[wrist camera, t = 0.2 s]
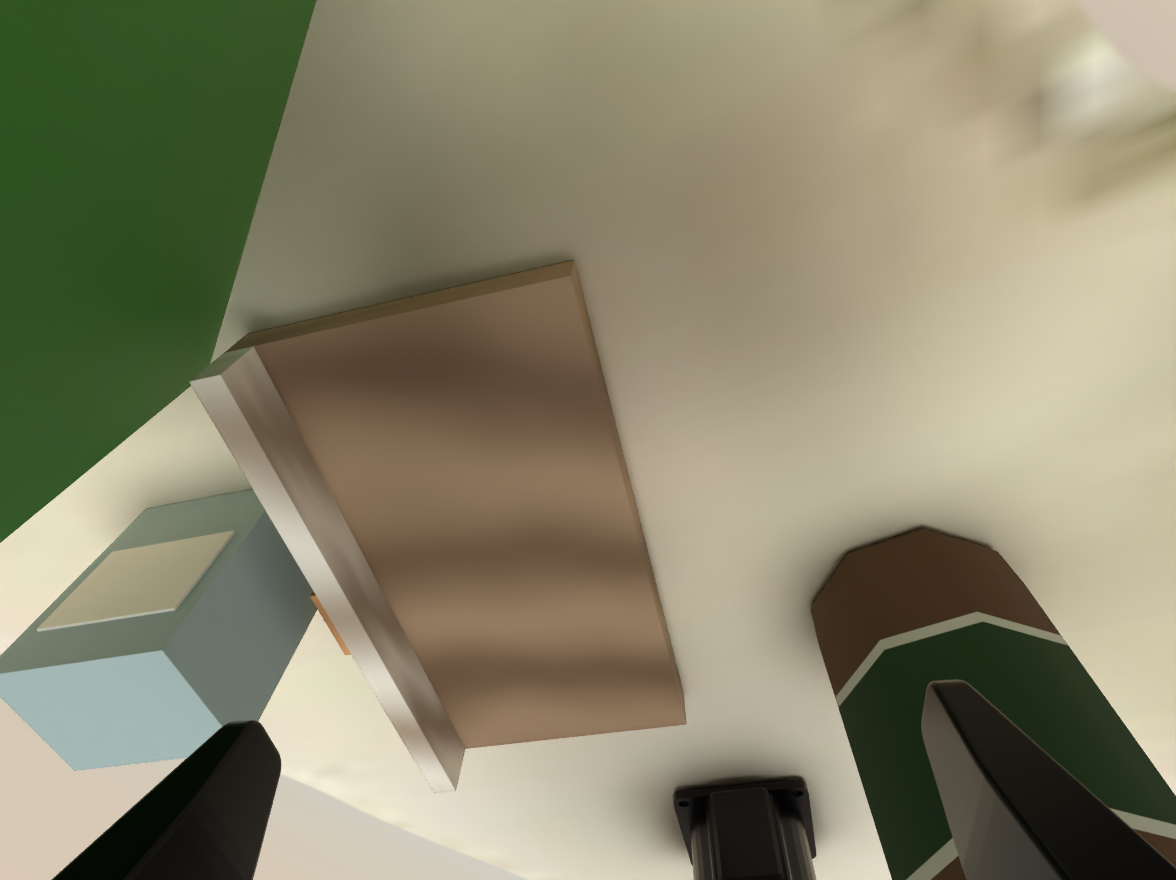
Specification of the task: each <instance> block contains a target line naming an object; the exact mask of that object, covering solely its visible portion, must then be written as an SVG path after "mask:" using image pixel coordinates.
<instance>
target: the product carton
mask: <svg viewBox="0 0 1176 880" xmlns="http://www.w3.org/2000/svg"><path fill="white" fill-rule="evenodd" d="M312 592H313V589H312V588H311V586H310V584H309V583H308V581H307V579H306V578H305V576H304V574H303V573H302V571H301V569H300V567H299V566H298V564H297V562H296V561H295V559H294V557H293V556H292V554H291V552H290V551H289V549H288V547H287V546H286V544H285V542H284V541H283V539H282V537H281V535H280V534H279V532H278V530H277V529H276V527H275V525H274V524H273V522H272V520H271V519H270V517H269V515H268V514H267V512H266V510H265V509H264V507H263V505H262V504H261V502H260V500H259V498H258V497H257V495H256V493H255V492H254V490H253V489H250V490H244V491H239V492H234V493H228V494H223V495H217V496H212V497H207V498H201V499H196V500H190V501H185V502H180V503H174V504H169V505H163V506H158V507H152V508H147V509H146V510H145V511H144V512H143V513H142V514H141V515H140V516H139V517H138V518H137V519H136V520H135V521H134V522H133V523H132V524H131V525H130V526H129V527H128V528H127V529H126V530H125V531H124V532H123V533H122V534H121V535H120V536H119V537H118V538H117V539H116V540H115V541H114V542H113V543H112V544H111V545H110V546H109V547H108V548H107V549H106V550H105V551H104V552H103V553H102V554H101V555H100V556H99V557H98V558H97V559H96V560H95V561H94V562H93V563H92V564H91V565H90V566H89V567H88V568H87V569H86V570H85V571H84V572H83V573H82V574H81V575H80V576H79V577H78V578H77V579H76V580H75V581H74V582H73V583H72V584H71V585H70V586H69V587H68V588H67V589H66V590H65V591H64V592H63V593H62V594H61V595H60V596H59V597H58V598H57V599H56V600H55V601H54V602H53V603H52V604H51V605H50V606H49V607H48V608H47V609H46V610H45V611H44V612H43V613H42V614H41V615H40V616H39V617H38V618H37V619H36V620H35V621H34V622H33V623H32V624H31V625H30V627H29V628H28V629H27V630H26V631H25V632H24V633H23V634H22V635H21V636H20V637H19V638H18V639H17V640H16V641H15V642H14V643H13V644H12V645H11V646H10V647H9V648H8V649H7V650H6V651H5V652H4V653H3V654H2V655H1V656H0V697H1V698H2V699H3V700H4V701H5V702H6V703H7V704H8V705H9V706H10V707H11V708H12V709H13V710H14V711H15V712H16V713H17V714H18V715H19V716H20V717H21V718H22V719H23V720H24V721H25V722H26V723H27V724H28V725H29V726H30V727H31V728H32V729H33V730H34V731H35V732H36V733H37V734H38V735H39V736H40V737H41V738H42V739H43V740H44V741H45V742H46V743H47V744H48V745H49V746H50V747H51V748H52V749H53V750H54V751H55V752H56V753H57V754H58V755H59V756H60V757H61V758H62V759H63V760H64V761H65V762H66V763H67V764H68V765H69V766H70V767H71V768H72V769H73V770H74V771H77V770H85V769H95V768H103V767H112V766H120V765H129V764H138V763H147V762H155V761H164V760H173V759H181V758H188V757H189V756H190V755H191V754H192V753H193V752H194V751H195V750H196V749H198V748H199V747H200V746H201V745H202V744H203V743H204V742H205V741H206V740H208V739H209V738H210V737H211V736H212V735H213V734H214V733H215V732H217V731H218V730H219V729H220V728H221V727H222V726H224V725H225V724H227V723H229V722H233V721H247V720H256V721H258V720H259V719H260V717H261V715H262V713H263V711H264V709H265V707H266V705H267V703H268V702H269V700H270V698H271V696H272V694H273V692H274V690H275V688H276V686H277V685H278V683H279V681H280V679H281V677H282V675H283V673H284V671H285V669H286V667H287V666H288V664H289V662H290V660H291V658H292V656H293V654H294V652H295V650H296V649H297V647H298V645H299V643H300V641H301V639H302V637H303V635H304V633H305V632H306V630H307V628H308V626H309V624H310V622H311V620H312V618H313V616H314V615H315V613H316V611H317V607H316V606H315V604H314V602H313V601H312V599H311V597H310V595H311V594H312Z"/></svg>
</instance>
